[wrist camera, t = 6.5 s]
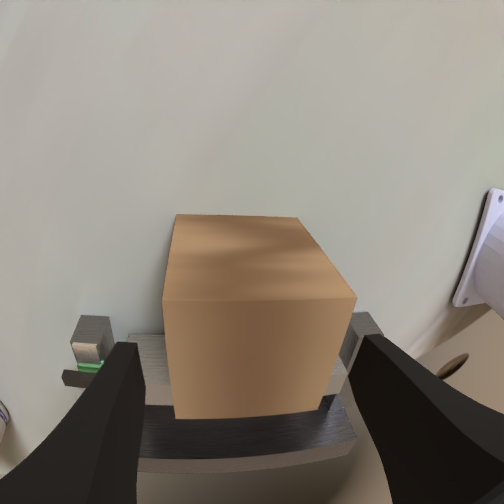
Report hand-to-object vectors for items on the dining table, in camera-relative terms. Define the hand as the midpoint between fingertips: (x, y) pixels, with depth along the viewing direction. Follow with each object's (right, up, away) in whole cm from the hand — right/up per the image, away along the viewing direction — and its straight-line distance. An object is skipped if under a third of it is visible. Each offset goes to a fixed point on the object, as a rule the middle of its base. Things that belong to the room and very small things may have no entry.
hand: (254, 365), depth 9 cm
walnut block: (-1, +3, +5) cm, 5 cm away
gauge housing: (-1, -3, +7) cm, 8 cm away
